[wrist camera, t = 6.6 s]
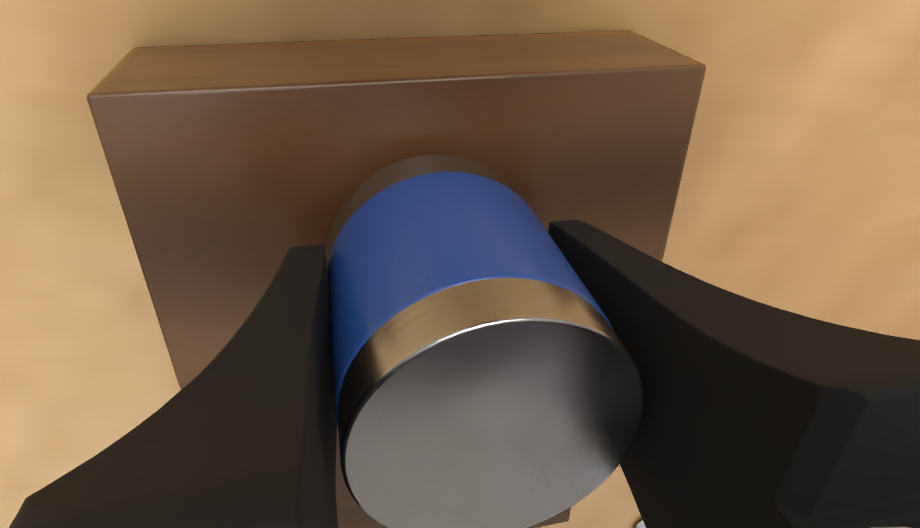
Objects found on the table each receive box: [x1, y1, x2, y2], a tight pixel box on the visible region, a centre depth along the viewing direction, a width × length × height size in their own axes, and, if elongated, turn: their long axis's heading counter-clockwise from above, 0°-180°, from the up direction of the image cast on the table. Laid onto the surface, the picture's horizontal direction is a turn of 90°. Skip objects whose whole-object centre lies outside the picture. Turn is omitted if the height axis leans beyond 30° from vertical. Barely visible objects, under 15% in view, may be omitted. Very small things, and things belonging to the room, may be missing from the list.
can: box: [327, 154, 644, 528], centre depth 11 cm, size 4×4×5 cm
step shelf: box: [87, 30, 706, 528], centre depth 18 cm, size 19×12×4 cm, turn 179°
